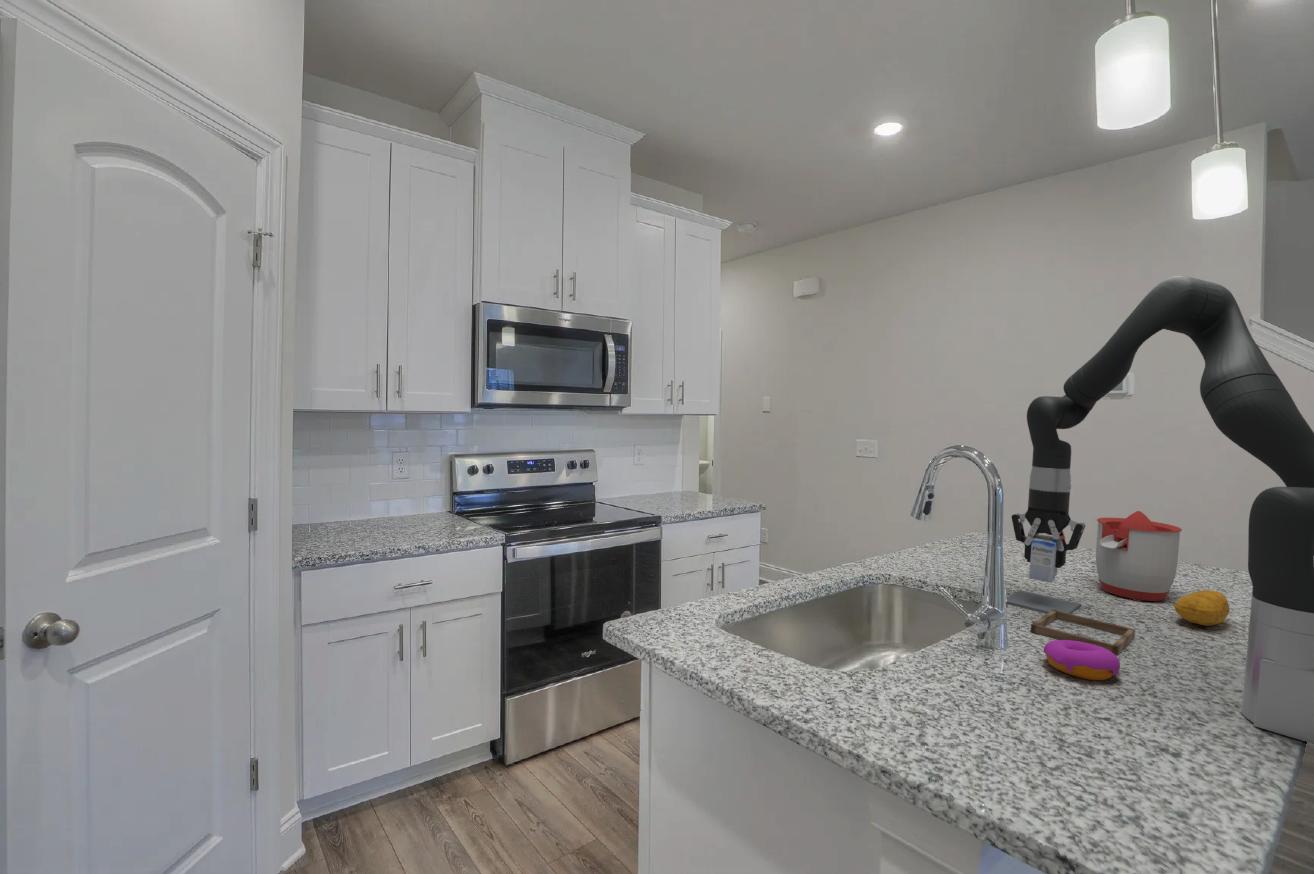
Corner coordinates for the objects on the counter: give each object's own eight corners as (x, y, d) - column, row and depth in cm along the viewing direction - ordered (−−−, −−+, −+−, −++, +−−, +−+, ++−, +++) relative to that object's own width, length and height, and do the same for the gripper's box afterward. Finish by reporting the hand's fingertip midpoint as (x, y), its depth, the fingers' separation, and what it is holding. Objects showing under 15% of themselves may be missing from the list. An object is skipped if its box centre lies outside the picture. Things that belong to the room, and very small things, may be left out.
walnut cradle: (1117, 655, 106) (1117, 647, 106) (1030, 631, 116) (1031, 624, 116) (1134, 637, 115) (1135, 629, 115) (1052, 616, 125) (1053, 609, 125)
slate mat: (1064, 617, 125) (1064, 615, 125) (1001, 602, 134) (1001, 600, 134) (1080, 606, 133) (1080, 603, 133) (1020, 592, 142) (1020, 590, 142)
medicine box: (1034, 571, 137) (1036, 533, 137) (1057, 575, 135) (1060, 537, 134) (1028, 578, 131) (1031, 539, 131) (1052, 583, 129) (1055, 542, 128)
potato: (1237, 623, 124) (1240, 591, 124) (1214, 636, 117) (1217, 602, 117) (1189, 612, 131) (1191, 581, 131) (1165, 623, 124) (1167, 590, 123)
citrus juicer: (1070, 587, 147) (1076, 506, 146) (1122, 582, 152) (1128, 504, 151) (1138, 608, 132) (1145, 518, 131) (1193, 602, 138) (1200, 516, 136)
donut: (1116, 669, 101) (1118, 642, 101) (1121, 692, 93) (1123, 663, 92) (1043, 653, 107) (1045, 628, 106) (1041, 674, 98) (1043, 646, 98)
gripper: (1007, 485, 135) (1002, 560, 136) (1083, 493, 124) (1077, 575, 125) (1019, 482, 140) (1014, 555, 141) (1093, 490, 129) (1087, 569, 130)
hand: (1044, 564), depth 133 cm, fingers closed on medicine box, 5 cm apart
